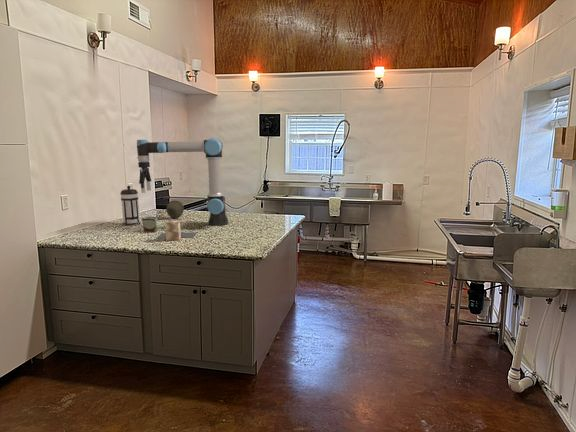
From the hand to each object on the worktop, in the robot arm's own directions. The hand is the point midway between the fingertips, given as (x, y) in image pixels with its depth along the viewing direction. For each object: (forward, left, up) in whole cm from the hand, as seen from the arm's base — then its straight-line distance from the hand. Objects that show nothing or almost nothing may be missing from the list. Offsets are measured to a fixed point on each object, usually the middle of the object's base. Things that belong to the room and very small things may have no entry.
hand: (146, 191), depth 289 cm
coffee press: (+18, -21, -28) cm, 40 cm away
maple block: (-25, +34, -28) cm, 50 cm away
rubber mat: (-25, +23, -28) cm, 44 cm away
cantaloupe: (-11, -41, -28) cm, 51 cm away
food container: (-4, +6, -28) cm, 29 cm away
